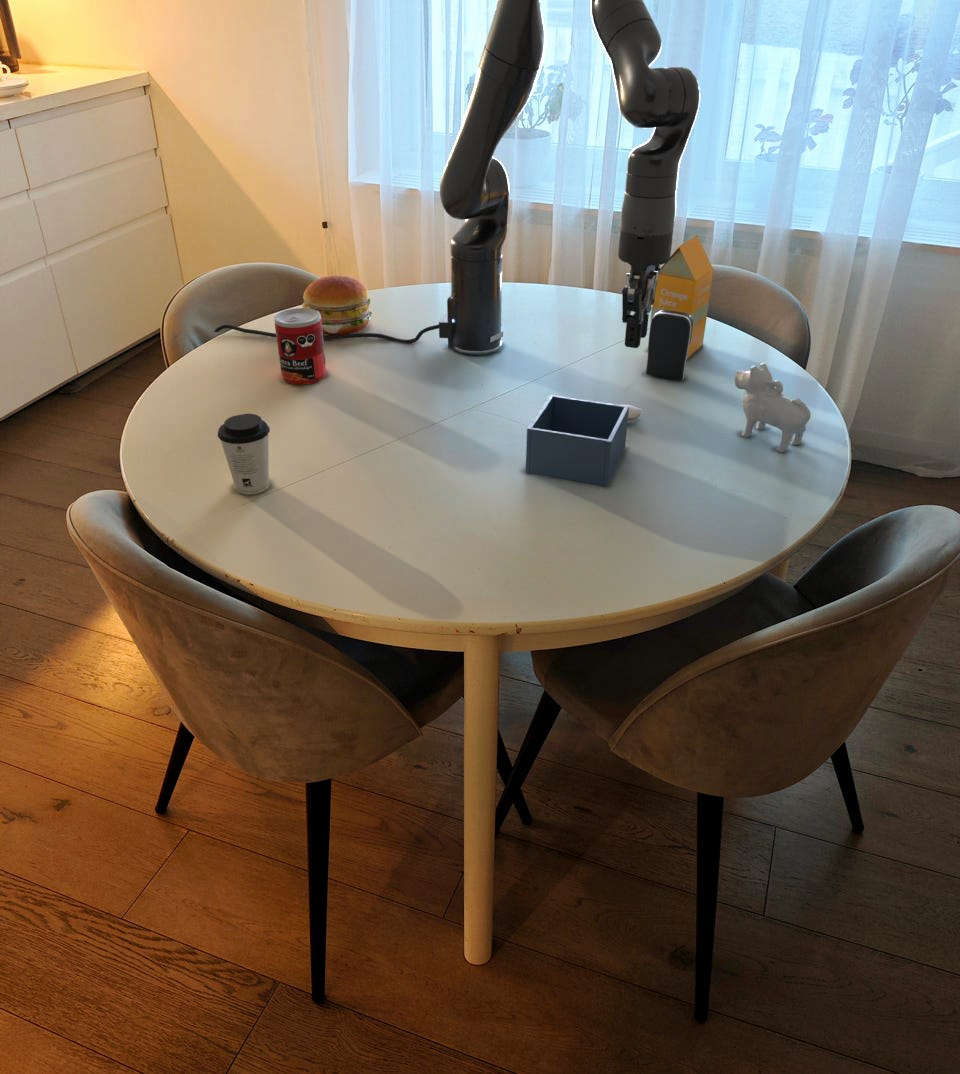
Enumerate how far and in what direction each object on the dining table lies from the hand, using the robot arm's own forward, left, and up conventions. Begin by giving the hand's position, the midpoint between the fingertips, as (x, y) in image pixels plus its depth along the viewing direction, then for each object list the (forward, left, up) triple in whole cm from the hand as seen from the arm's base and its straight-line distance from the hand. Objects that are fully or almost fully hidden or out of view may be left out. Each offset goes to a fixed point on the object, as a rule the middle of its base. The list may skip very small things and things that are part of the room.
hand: (635, 341), depth 137 cm
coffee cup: (-44, -40, -13) cm, 61 cm away
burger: (-63, +19, -13) cm, 67 cm away
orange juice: (+1, +33, -13) cm, 36 cm away
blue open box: (-4, -16, -10) cm, 19 cm away
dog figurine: (+21, +2, -13) cm, 25 cm away
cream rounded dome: (0, 0, -13) cm, 13 cm away
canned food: (-57, -4, -13) cm, 59 cm away
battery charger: (+2, +20, -13) cm, 24 cm away
